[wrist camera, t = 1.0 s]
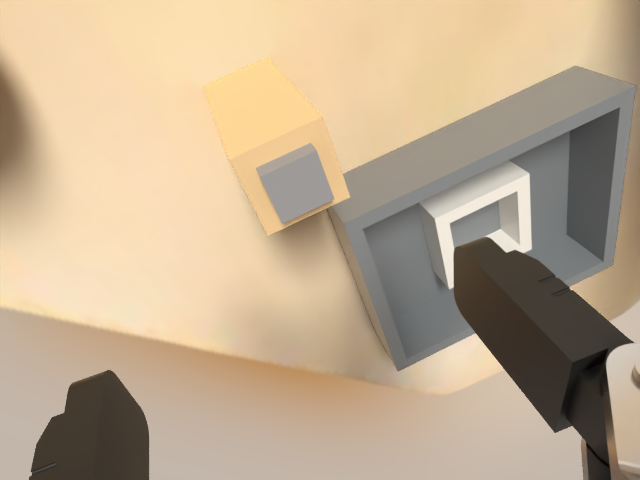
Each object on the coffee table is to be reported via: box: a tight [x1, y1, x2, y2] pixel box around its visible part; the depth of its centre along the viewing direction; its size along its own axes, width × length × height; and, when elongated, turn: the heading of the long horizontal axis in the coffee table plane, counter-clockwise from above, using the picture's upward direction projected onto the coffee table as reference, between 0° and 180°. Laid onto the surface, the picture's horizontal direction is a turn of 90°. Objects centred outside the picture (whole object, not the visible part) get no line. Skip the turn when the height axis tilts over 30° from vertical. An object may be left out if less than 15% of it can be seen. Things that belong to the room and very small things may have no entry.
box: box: [327, 66, 636, 371], centre depth 35 cm, size 20×16×5 cm
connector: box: [202, 57, 350, 236], centre depth 22 cm, size 4×4×11 cm
